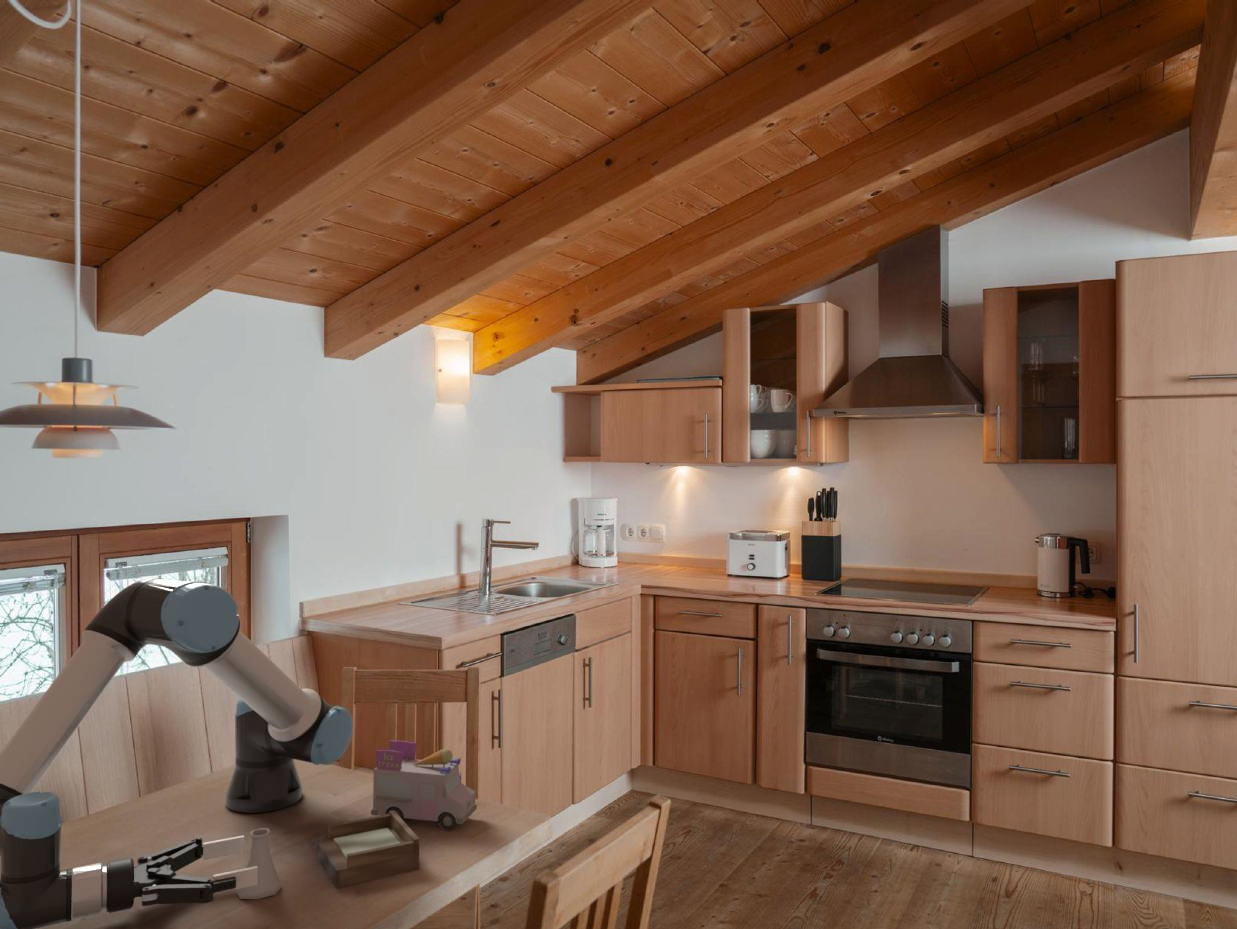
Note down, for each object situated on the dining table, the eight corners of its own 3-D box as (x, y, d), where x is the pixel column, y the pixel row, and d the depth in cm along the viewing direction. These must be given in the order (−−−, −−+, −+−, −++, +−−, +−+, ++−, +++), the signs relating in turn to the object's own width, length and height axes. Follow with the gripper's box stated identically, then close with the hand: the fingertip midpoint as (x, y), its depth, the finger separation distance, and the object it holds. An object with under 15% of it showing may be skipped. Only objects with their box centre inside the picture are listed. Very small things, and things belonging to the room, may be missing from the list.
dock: (315, 854, 167) (316, 824, 167) (393, 838, 174) (394, 810, 174) (335, 888, 154) (336, 856, 154) (419, 869, 162) (419, 838, 162)
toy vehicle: (461, 835, 177) (462, 758, 177) (368, 825, 181) (370, 750, 181) (477, 817, 186) (479, 744, 186) (389, 808, 190) (390, 736, 190)
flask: (280, 898, 150) (281, 838, 150) (233, 903, 148) (234, 842, 148) (283, 878, 157) (284, 821, 157) (238, 883, 155) (239, 825, 155)
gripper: (102, 879, 152) (238, 852, 162) (106, 949, 130) (263, 913, 141) (103, 834, 151) (239, 811, 162) (107, 897, 130) (263, 865, 141)
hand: (250, 858), depth 152 cm, fingers open, 13 cm apart
